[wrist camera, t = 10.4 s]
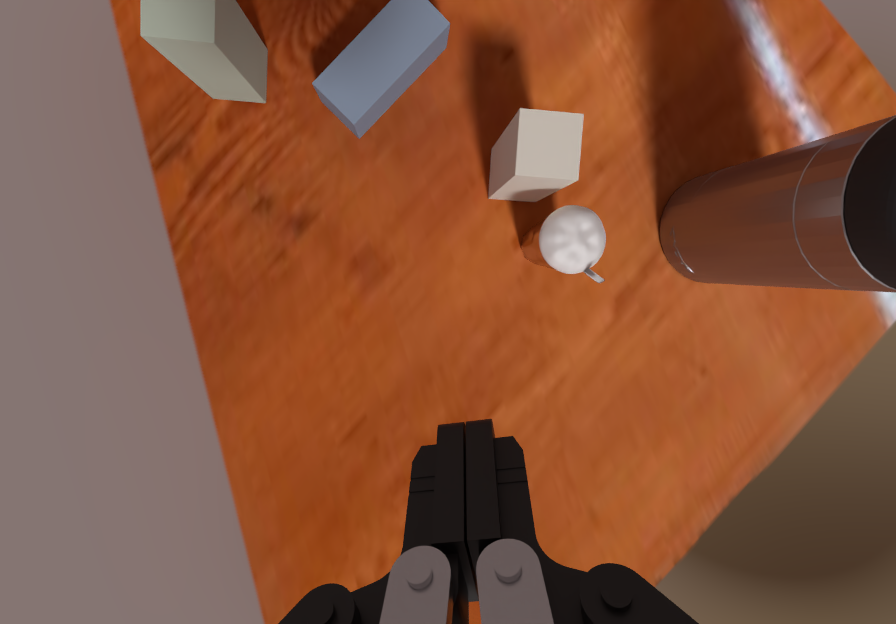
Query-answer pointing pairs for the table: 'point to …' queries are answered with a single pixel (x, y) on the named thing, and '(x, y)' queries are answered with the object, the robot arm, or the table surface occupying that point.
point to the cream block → (536, 155)
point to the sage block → (209, 45)
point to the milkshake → (567, 241)
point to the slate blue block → (382, 62)
